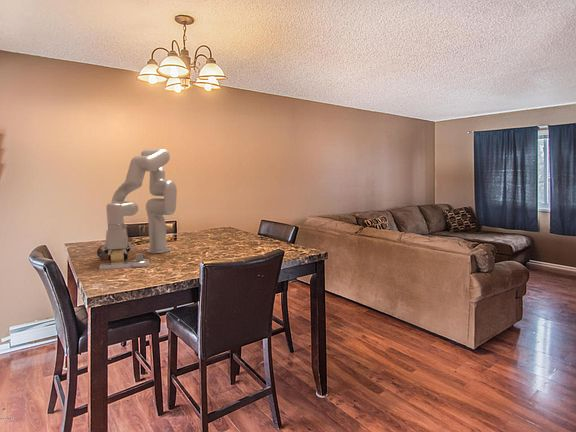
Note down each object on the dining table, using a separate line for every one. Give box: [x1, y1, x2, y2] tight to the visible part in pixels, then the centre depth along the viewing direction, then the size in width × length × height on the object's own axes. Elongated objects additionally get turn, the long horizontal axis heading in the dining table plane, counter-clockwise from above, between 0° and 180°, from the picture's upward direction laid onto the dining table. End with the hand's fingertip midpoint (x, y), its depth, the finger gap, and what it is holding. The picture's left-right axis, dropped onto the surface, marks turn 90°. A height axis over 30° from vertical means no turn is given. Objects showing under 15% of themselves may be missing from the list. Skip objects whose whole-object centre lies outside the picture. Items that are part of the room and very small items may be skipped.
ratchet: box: [98, 252, 150, 271], centre depth 181 cm, size 9×22×6 cm, turn 108°
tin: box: [96, 244, 128, 261], centre depth 197 cm, size 15×3×8 cm, turn 101°
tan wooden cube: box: [111, 250, 125, 263], centre depth 187 cm, size 6×6×6 cm
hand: (118, 261), depth 187 cm, fingers closed on tan wooden cube, 6 cm apart
